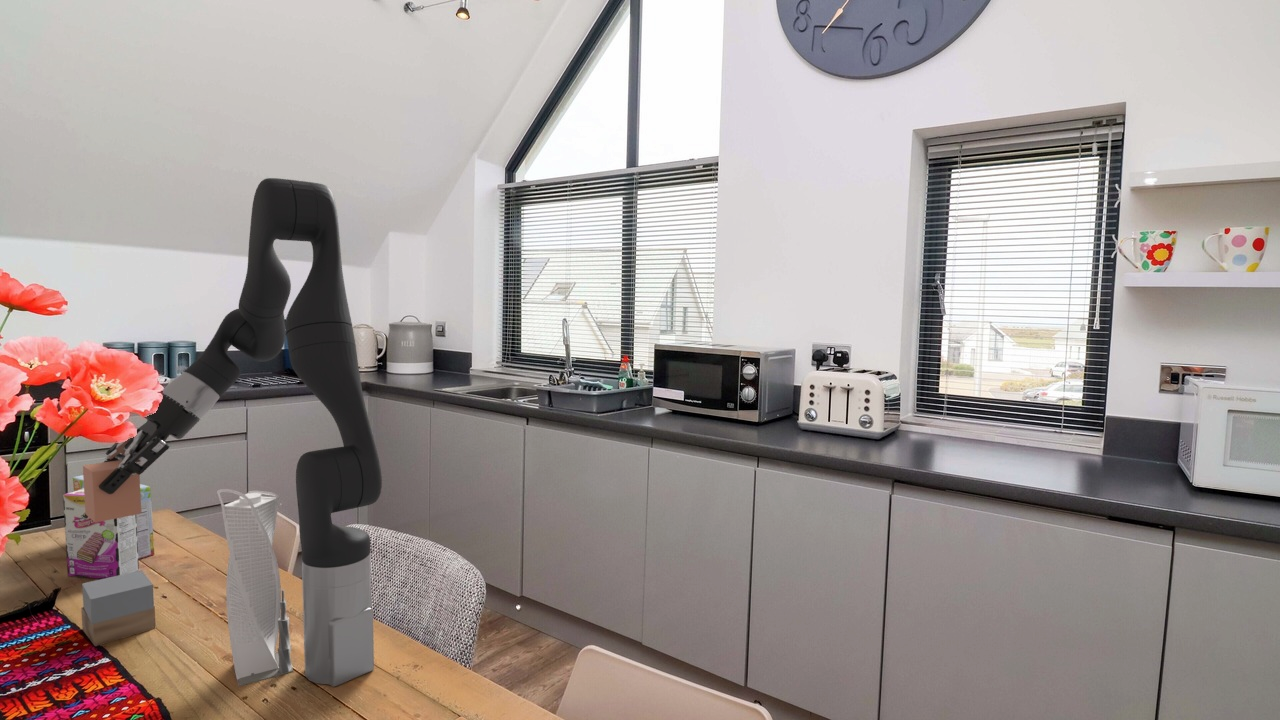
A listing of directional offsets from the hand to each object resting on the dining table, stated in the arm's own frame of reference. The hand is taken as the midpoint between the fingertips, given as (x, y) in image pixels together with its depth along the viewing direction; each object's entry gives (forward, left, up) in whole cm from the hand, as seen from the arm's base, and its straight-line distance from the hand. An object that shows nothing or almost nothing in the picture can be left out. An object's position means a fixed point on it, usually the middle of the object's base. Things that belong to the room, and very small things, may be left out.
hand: (99, 486), depth 109 cm
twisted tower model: (-29, -12, -25) cm, 40 cm away
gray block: (0, -2, -20) cm, 21 cm away
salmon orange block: (0, -2, -5) cm, 5 cm away
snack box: (+42, -11, -24) cm, 50 cm away
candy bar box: (+28, -6, -24) cm, 38 cm away
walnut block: (0, -2, -24) cm, 24 cm away
